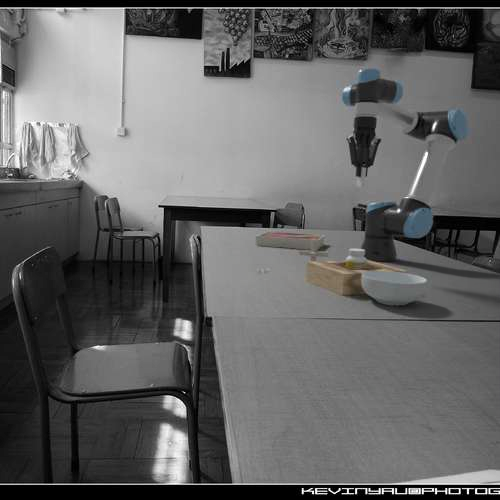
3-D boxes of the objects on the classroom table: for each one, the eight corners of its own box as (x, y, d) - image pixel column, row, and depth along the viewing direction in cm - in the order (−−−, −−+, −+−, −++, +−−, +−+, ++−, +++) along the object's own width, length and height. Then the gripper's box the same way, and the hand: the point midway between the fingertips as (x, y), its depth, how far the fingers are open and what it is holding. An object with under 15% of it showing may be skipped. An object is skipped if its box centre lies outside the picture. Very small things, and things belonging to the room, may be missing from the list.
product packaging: (267, 241, 256) (267, 231, 255) (323, 245, 248) (324, 235, 248) (255, 246, 236) (255, 235, 235) (316, 251, 228) (317, 240, 227)
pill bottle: (342, 283, 159) (344, 247, 157) (362, 283, 159) (364, 248, 157) (346, 287, 153) (349, 250, 151) (367, 288, 153) (370, 251, 151)
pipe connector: (326, 271, 178) (328, 242, 177) (297, 268, 180) (299, 240, 179) (327, 266, 188) (329, 239, 186) (300, 264, 190) (302, 237, 188)
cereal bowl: (415, 314, 125) (417, 285, 124) (350, 303, 134) (352, 276, 133) (431, 301, 140) (434, 275, 139) (372, 292, 148) (374, 267, 147)
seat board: (365, 277, 169) (366, 259, 168) (405, 291, 151) (407, 270, 150) (306, 280, 160) (307, 261, 159) (342, 295, 142) (343, 273, 141)
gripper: (374, 119, 181) (369, 186, 185) (343, 116, 176) (338, 185, 179) (388, 117, 174) (382, 187, 178) (356, 114, 169) (351, 186, 173)
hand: (360, 186), depth 179 cm, fingers closed
